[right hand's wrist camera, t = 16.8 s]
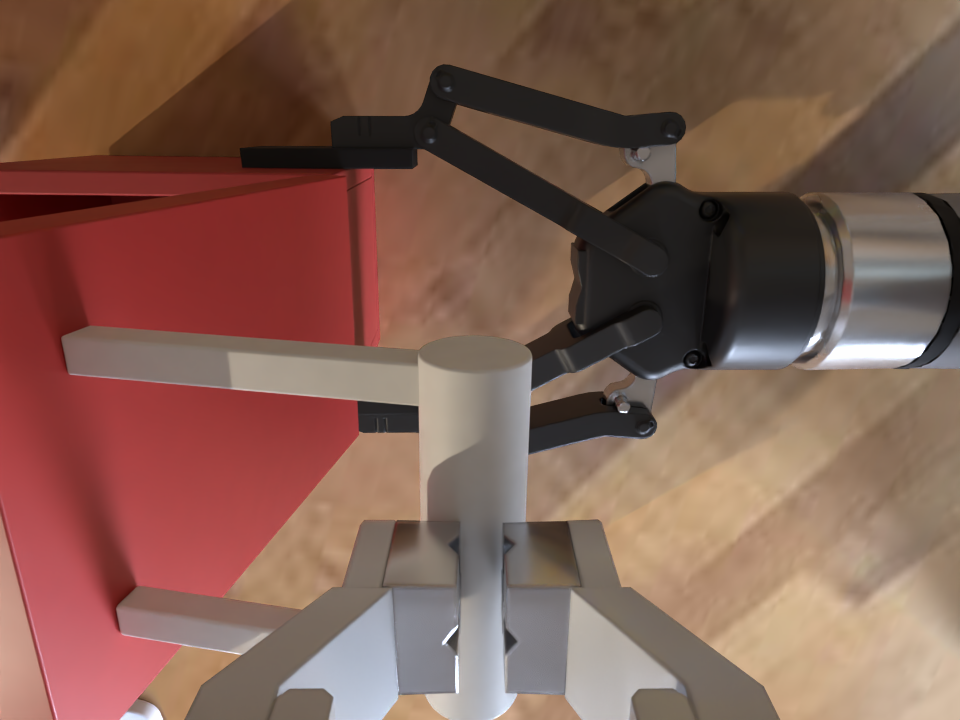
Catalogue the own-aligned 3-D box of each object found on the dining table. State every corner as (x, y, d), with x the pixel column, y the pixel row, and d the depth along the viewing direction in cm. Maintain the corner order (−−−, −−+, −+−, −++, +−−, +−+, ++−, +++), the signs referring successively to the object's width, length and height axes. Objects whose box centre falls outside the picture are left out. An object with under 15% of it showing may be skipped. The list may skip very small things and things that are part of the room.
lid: (9, 767, 12) (497, 869, 11) (-145, 242, 9) (516, 278, 8) (327, 431, 26) (563, 455, 24) (311, 174, 23) (580, 182, 21)
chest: (126, 338, 37) (-11, 425, 26) (96, 155, 33) (-74, 168, 23) (380, 339, 37) (346, 425, 26) (373, 158, 34) (332, 173, 23)
